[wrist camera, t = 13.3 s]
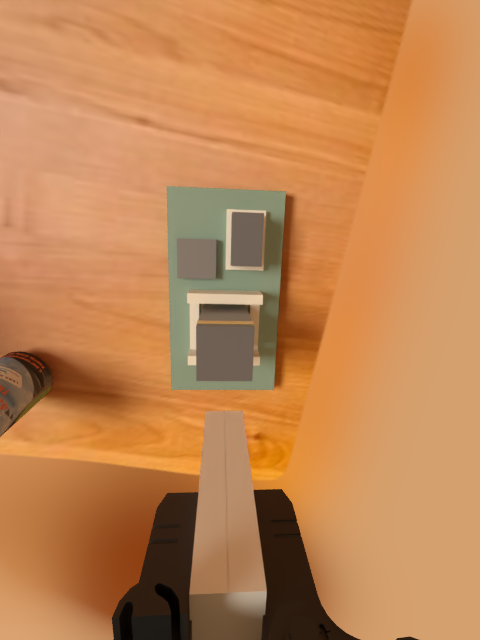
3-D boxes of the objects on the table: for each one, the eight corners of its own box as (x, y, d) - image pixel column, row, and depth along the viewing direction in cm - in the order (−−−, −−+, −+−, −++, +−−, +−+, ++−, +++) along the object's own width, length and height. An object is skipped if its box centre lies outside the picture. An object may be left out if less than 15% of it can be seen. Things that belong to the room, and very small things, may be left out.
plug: (203, 303, 33) (195, 325, 23) (245, 304, 33) (255, 326, 23) (203, 343, 34) (195, 381, 24) (244, 344, 34) (252, 381, 24)
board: (168, 188, 31) (160, 179, 27) (283, 193, 32) (292, 185, 28) (173, 385, 36) (166, 402, 32) (272, 385, 37) (278, 402, 33)
